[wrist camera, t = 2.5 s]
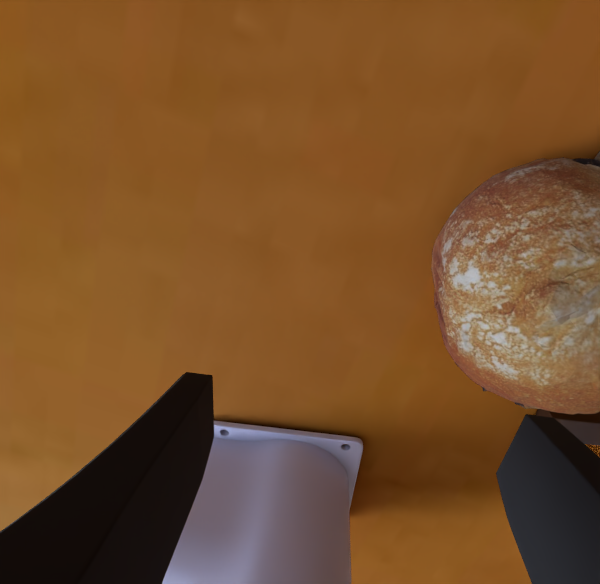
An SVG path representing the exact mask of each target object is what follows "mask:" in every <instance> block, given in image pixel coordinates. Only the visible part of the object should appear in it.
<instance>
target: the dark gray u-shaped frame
mask: <svg viewBox="0 0 600 584" xmlns="http://www.w3.org/2000/svg"><path fill="white" fill-rule="evenodd" d="M536 416H544V417H552V418H554V419H556V420H557V421H558V422H559V423H561V424H562V425H563V426H564V427H565V428H567V429H568V430H569V431H570V432H571V433H572V434H573V435H575V436H576V437H577V438H578V439H579V440H580V441H581V442H583V443H584V444H591V445H600V412H597V413H595V414H580V413H577V414H573V415H572V414H565V413H557V412H551V411H547V410H543V409H538V411H537V413H536Z"/></svg>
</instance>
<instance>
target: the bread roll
mask: <svg viewBox="0 0 600 584" xmlns="http://www.w3.org/2000/svg"><path fill="white" fill-rule="evenodd" d="M431 270H432V273H433V281H434V286H435V293H434V302H435V308H436V309H437V313H438V318H439V325H440V328H441V332H442V337H443V341H444V344H445V346H446V348H447V350H448V352H449V354H450V355H451V357H452V358H453V360H454V361H455V363H456V364H457V365H458V367H460V369H461V370H462V371H463V372H464V373H465V374H466V375H467V376H468V377H469V378H470V379H471V380H472V381H474V382H475V383H477V384H478V385H480V386H481V387H483V391H491V392H493V393H495V394H497V395H499V396H501V397H504V398H506V399H508V400H511V401H513V402H514V403H515V404H517V405H520V406H522V407H523V408H525V409H527V408H535V409H543V410H547V411H551V412H557V413H565V414H572V415H573V414H577V413H580V414H595V413H597V412H600V151H599V153H598V154H597V156H596V157H595V158H594V159H581V158H577V159H568V158H564V157H563V158H556V159H550V160H549V159H537V160H535V161H533V162H530V163H528V164H525V165H521V166H518V167H514V168H511V169H508V170H506V171H503V172H501V173H499V174H496V175H494V176H493V177H491V178H490V179H488V180H487V181H485V182H484V183H483V184H482V185H480V186H479V187H478V188H477V189H475V190H474V191H473V192H472V193H471V194H469V195H468V196H467V197H466V198H465V199H464V200H463V201H462V202H461V203H460V204H459V205H458V206H457V208H456V209H455V210H454V211H453V213H452V214H451V216H450V217H449V219H448V220H447V222H446V223H445V225H444V227H443V228H442V230H441V232H440V234H439V235H438V237H437V239H436V241H435V244H434V247H433V251H432V268H431Z"/></svg>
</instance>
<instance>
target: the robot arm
mask: <svg viewBox="0 0 600 584" xmlns="http://www.w3.org/2000/svg"><path fill="white" fill-rule="evenodd" d="M226 430H227V431H226ZM344 444H348V445H344ZM362 452H363V442H362V440H361V439H359V438H356V437H350V436H341V435H333V434H324V433H316V432H307V431H299V430H290V429H282V428H274V427H265V426H257V425H248V424H240V423H231V422H223V421H214V415H213V381H212V375H205V374H197V373H189V372H186V373H185V374H183V375H182V376H181V377H180V378H179V379H178V380H177V381H176V382H175V383H174V384H173V385H172V386H171V387H170V388H169V389H168V390H167V391H166V392H165V393H164V394H163V395H162V396H161V397H160V398H159V399H158V400H157V401H156V402H155V403H154V404H153V405H152V406H151V407H150V408H149V409H148V410H147V411H146V412H145V413H144V414H143V415H142V416H141V417H140V418H139V419H137V420H136V421H135V422H134V423H133V424H132V425H131V426H130V427H129V428H128V429H127V430H126V431H124V432H123V433H122V434H121V435H120V436H119V437H118V438H117V439H116V440H115V441H114V442H112V443H111V444H110V445H109V446H108V447H107V448H106V449H105V450H103V451H102V452H101V453H100V454H99V455H97V456H96V457H95V458H94V459H93V460H92V461H90V462H89V463H88V464H87V465H86V466H84V467H83V468H82V469H81V470H80V471H79V472H77V473H76V474H75V475H74V476H73V477H71V478H70V479H69V480H68V481H67V482H65V483H64V484H63V485H62V486H60V487H59V488H58V489H56V490H55V491H54V492H53V493H51V494H50V495H49V496H48V497H46V498H45V499H44V500H42V501H41V502H40V503H39V504H37V505H36V506H35V507H33V508H32V509H30V510H29V511H28V512H26V513H25V514H24V515H22V516H21V517H20V518H18V519H17V520H16V521H14V522H13V523H12V524H10V525H9V526H8V527H6V528H5V529H3V530H2V531H0V584H351V553H350V517H349V510H350V506H351V501H352V497H353V492H354V488H355V483H356V479H357V474H358V470H359V465H360V461H361V456H362ZM496 475H497V479H498V483H499V487H500V492H501V496H502V500H503V503H504V507H505V511H506V515H507V518H508V521H509V524H510V527H511V530H512V532H513V535H514V538H515V540H516V543H517V545H518V548H519V551H520V553H521V556H522V559H523V561H524V564H525V566H526V569H527V571H528V574H529V577H530V579H531V582H532V584H600V458H599V457H598V456H597V455H596V454H595V453H594V452H593V451H592V450H590V449H589V448H588V447H587V446H586V445H585V444H584V443H583V442H581V441H580V440H579V439H578V438H577V437H576V436H575V435H573V434H572V433H571V432H570V431H569V430H568V429H567V428H565V427H564V426H563V425H562V424H561V423H559V422H558V421H557V420H556V419H554V418H552V417H544V416H536V415H528V414H526V415H525V417H524V419H523V421H522V423H521V425H520V427H519V429H518V431H517V433H516V435H515V437H514V439H513V441H512V443H511V445H510V447H509V449H508V451H507V453H506V455H505V457H504V459H503V461H502V463H501V465H500V467H499V469H498V471H497V473H496Z"/></svg>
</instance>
